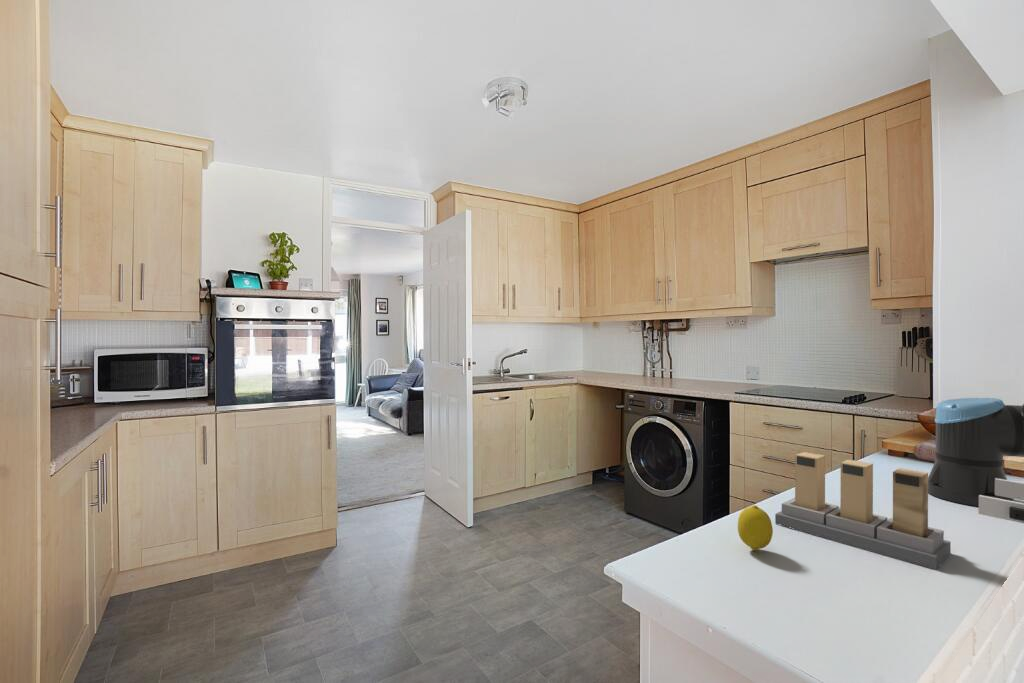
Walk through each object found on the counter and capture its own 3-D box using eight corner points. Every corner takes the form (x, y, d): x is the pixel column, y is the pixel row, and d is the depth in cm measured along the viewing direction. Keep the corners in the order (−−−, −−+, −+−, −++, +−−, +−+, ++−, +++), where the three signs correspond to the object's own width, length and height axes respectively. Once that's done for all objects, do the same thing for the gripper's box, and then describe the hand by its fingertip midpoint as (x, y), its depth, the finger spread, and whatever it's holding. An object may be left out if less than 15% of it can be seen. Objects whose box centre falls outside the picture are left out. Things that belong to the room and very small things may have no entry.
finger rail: (796, 512, 105) (796, 447, 105) (950, 553, 85) (950, 472, 85) (775, 523, 99) (775, 454, 99) (936, 569, 79) (936, 483, 79)
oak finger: (899, 534, 88) (899, 468, 88) (927, 541, 85) (928, 472, 85) (892, 540, 86) (892, 471, 86) (921, 547, 83) (921, 476, 83)
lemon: (769, 546, 88) (769, 502, 88) (775, 559, 83) (775, 512, 83) (735, 542, 90) (736, 499, 90) (739, 555, 84) (739, 508, 84)
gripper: (1234, 602, 53) (970, 538, 70) (1212, 541, 69) (1000, 501, 86) (1235, 534, 53) (971, 487, 70) (1213, 488, 69) (1001, 458, 85)
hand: (987, 494), depth 78 cm, fingers open, 13 cm apart
